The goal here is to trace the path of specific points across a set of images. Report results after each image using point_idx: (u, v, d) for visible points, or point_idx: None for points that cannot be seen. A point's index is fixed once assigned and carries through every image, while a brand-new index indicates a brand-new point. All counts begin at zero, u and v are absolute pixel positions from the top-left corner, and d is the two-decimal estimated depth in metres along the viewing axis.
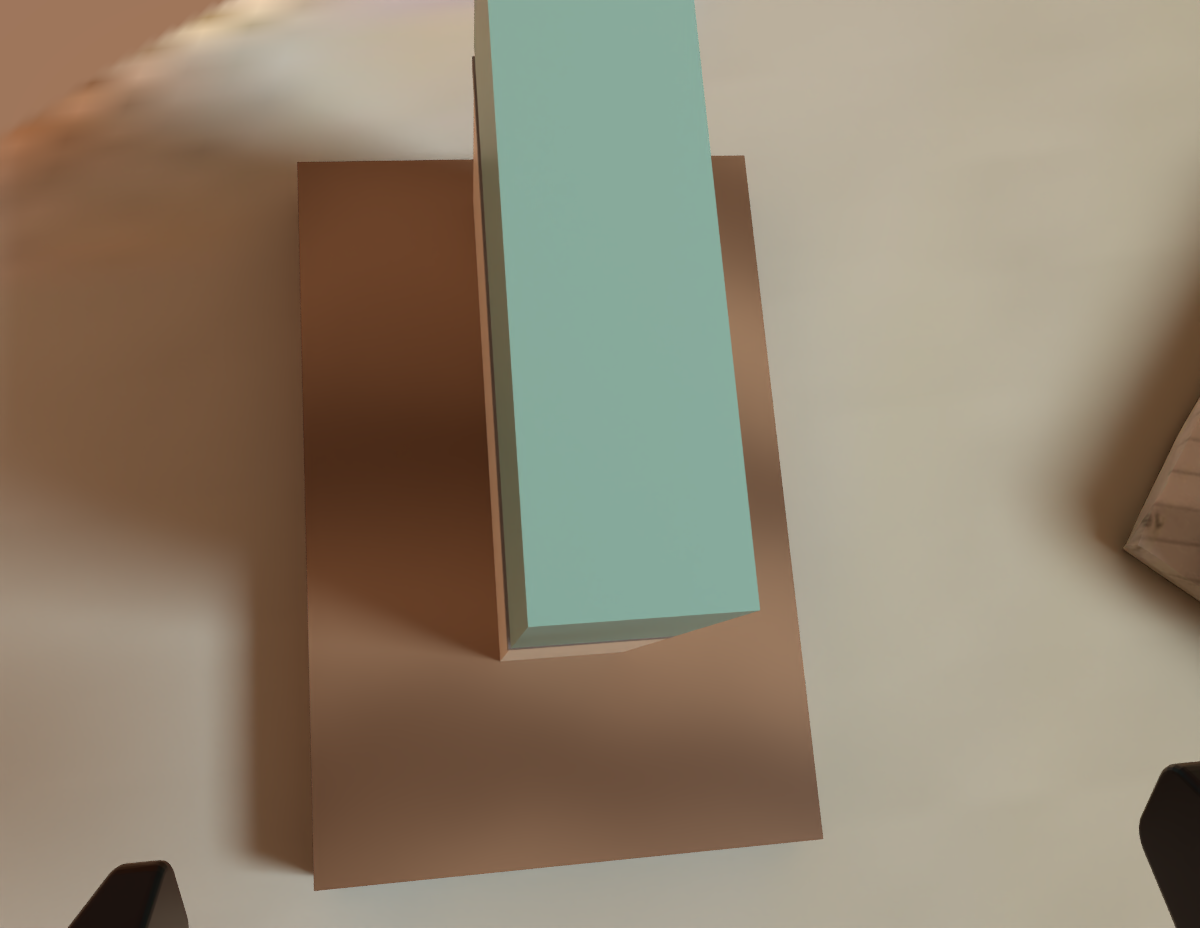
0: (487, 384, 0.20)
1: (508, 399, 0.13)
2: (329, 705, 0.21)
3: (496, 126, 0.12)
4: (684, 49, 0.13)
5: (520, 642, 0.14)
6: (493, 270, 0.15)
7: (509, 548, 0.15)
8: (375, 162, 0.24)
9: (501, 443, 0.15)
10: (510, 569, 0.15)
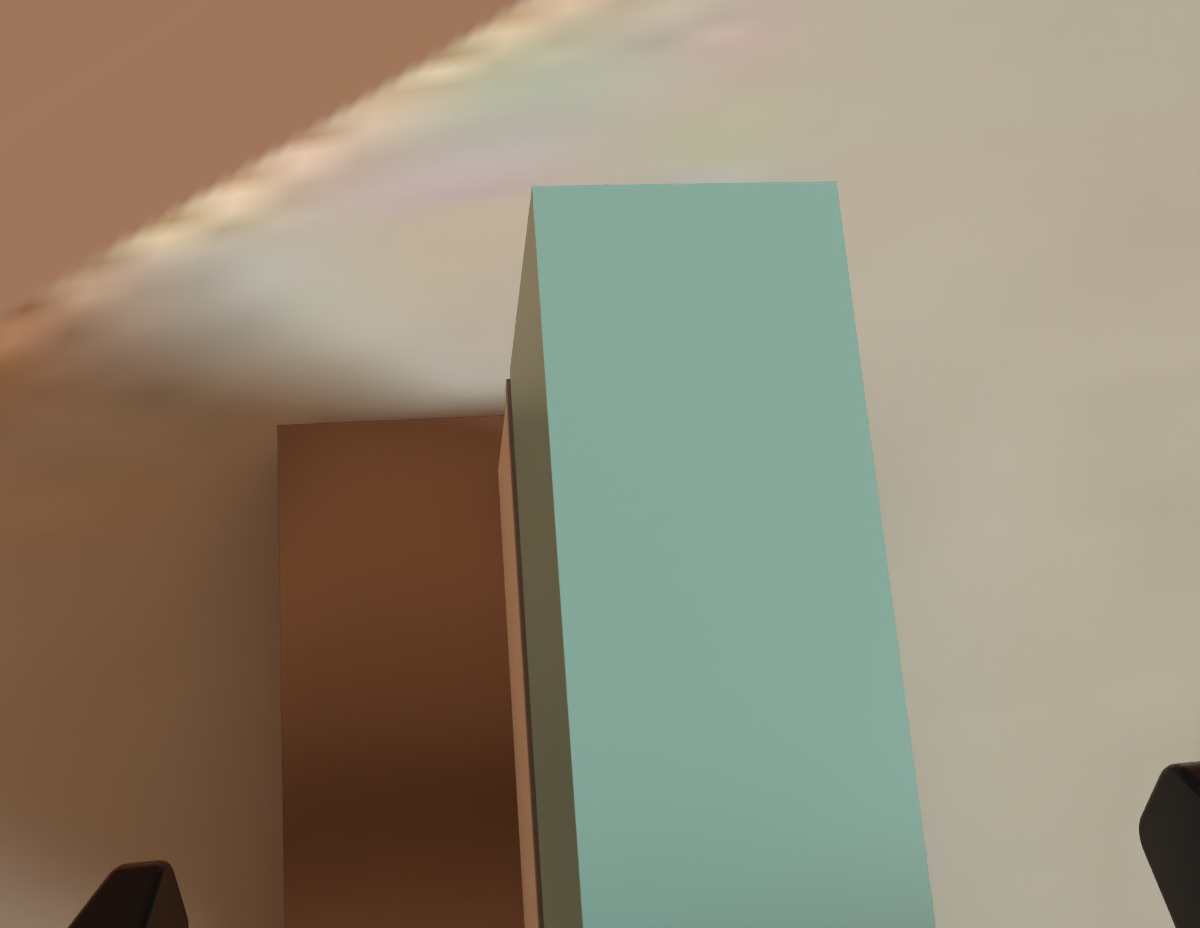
0: (521, 765, 0.16)
1: None
2: None
3: (570, 738, 0.08)
4: (866, 581, 0.08)
5: None
6: (547, 791, 0.10)
7: None
8: (375, 422, 0.19)
9: None
10: None
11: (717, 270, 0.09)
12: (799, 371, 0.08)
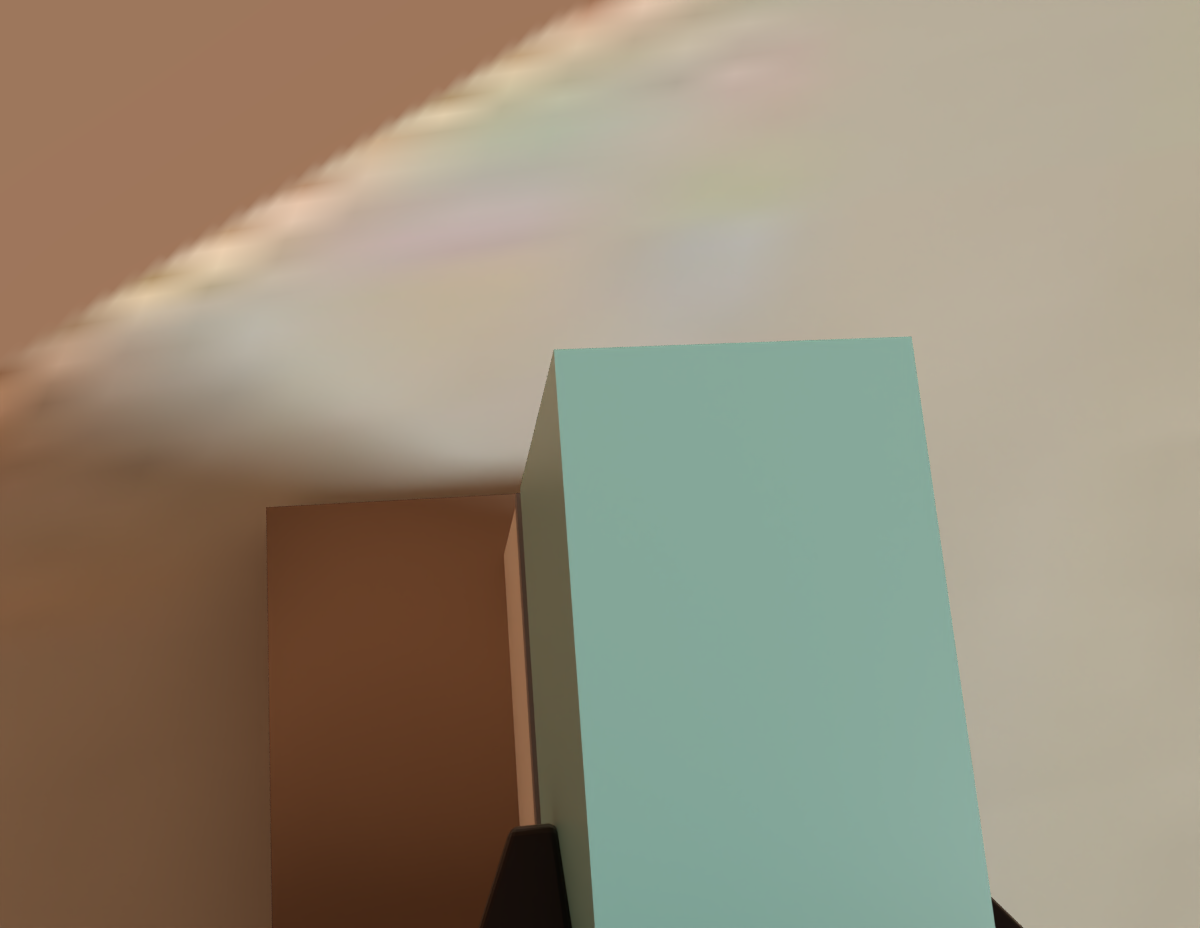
0: None
1: None
2: None
3: None
4: (953, 830, 0.07)
5: None
6: None
7: None
8: (372, 503, 0.17)
9: None
10: None
11: (773, 448, 0.07)
12: (871, 571, 0.07)
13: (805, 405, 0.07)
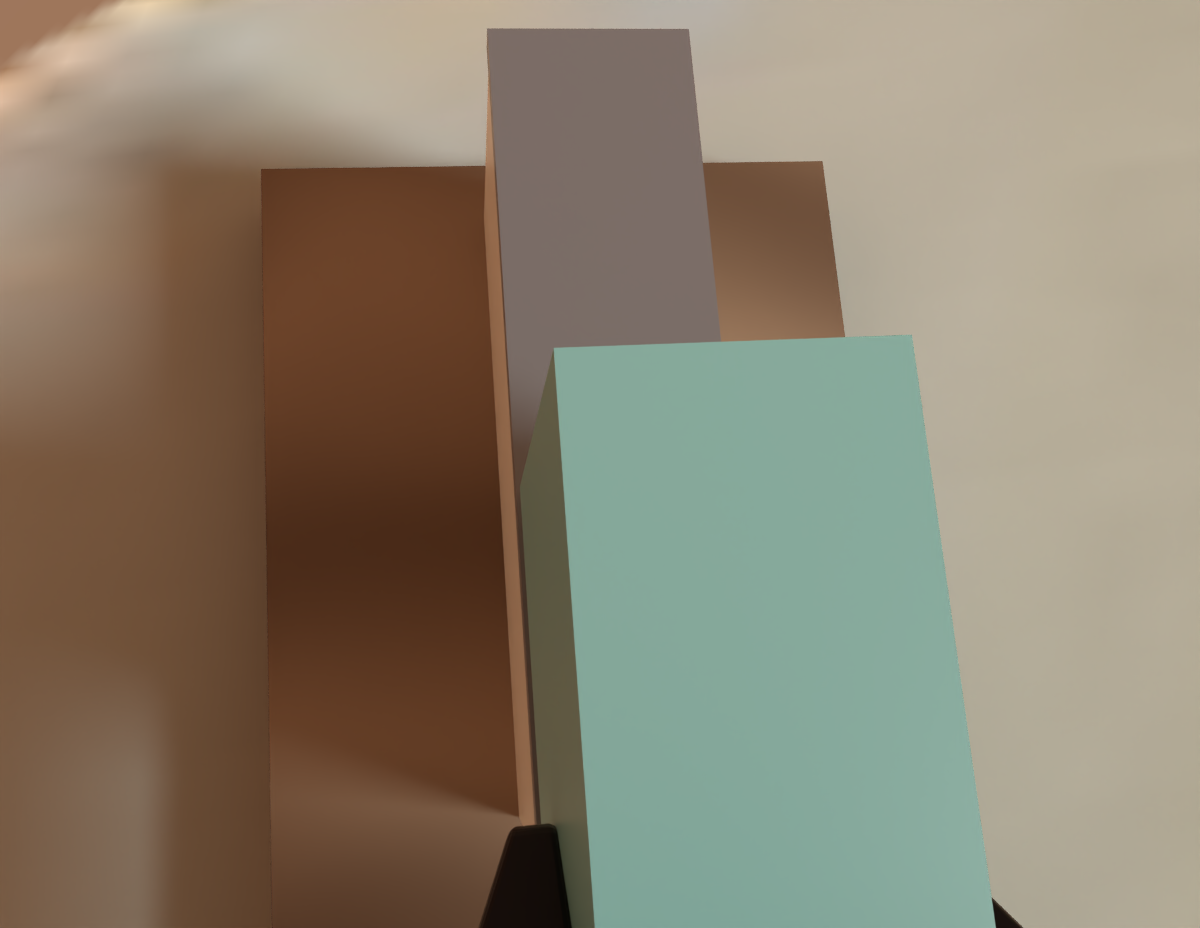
0: (504, 464, 0.15)
1: None
2: (297, 879, 0.16)
3: None
4: (954, 829, 0.07)
5: None
6: None
7: None
8: (360, 169, 0.19)
9: None
10: None
11: (773, 447, 0.07)
12: (871, 569, 0.07)
13: (805, 403, 0.07)
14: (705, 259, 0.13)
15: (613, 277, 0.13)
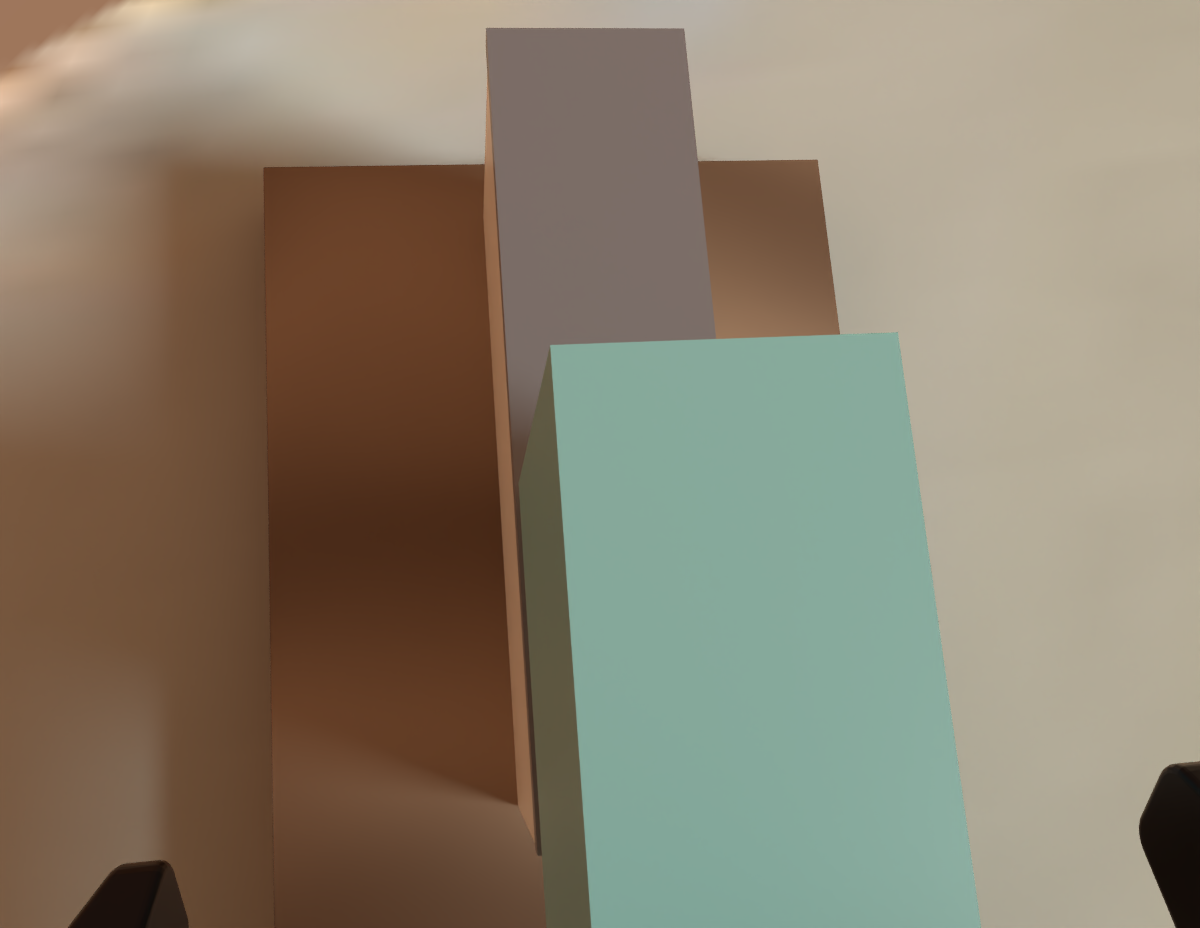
0: (503, 457, 0.16)
1: None
2: (299, 867, 0.16)
3: None
4: (937, 811, 0.07)
5: None
6: None
7: None
8: (361, 167, 0.19)
9: None
10: None
11: (763, 441, 0.07)
12: (858, 560, 0.07)
13: (794, 399, 0.07)
14: (700, 254, 0.13)
15: (610, 271, 0.13)
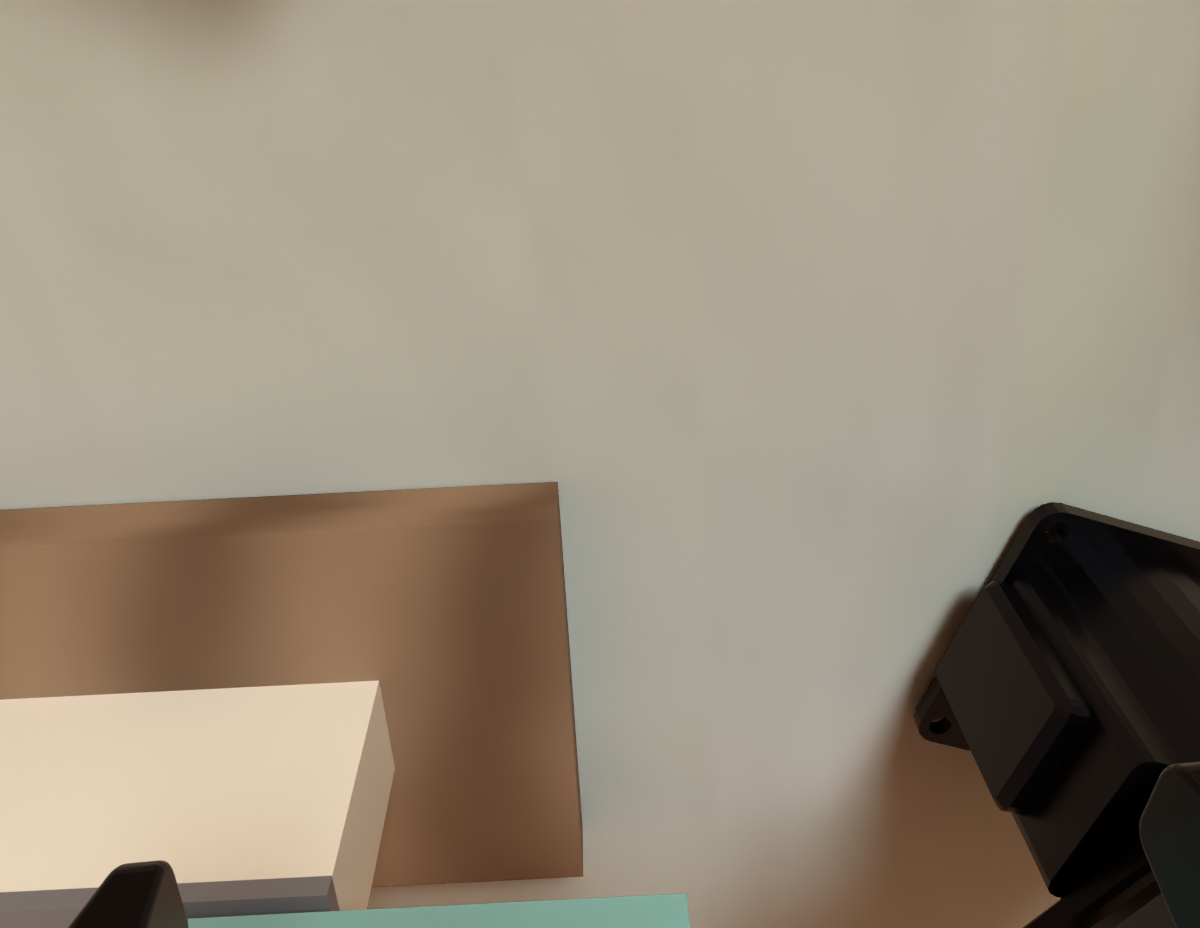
0: None
1: None
2: (439, 872, 0.25)
3: None
4: None
5: None
6: None
7: None
8: None
9: None
10: None
11: None
12: None
13: None
14: None
15: None
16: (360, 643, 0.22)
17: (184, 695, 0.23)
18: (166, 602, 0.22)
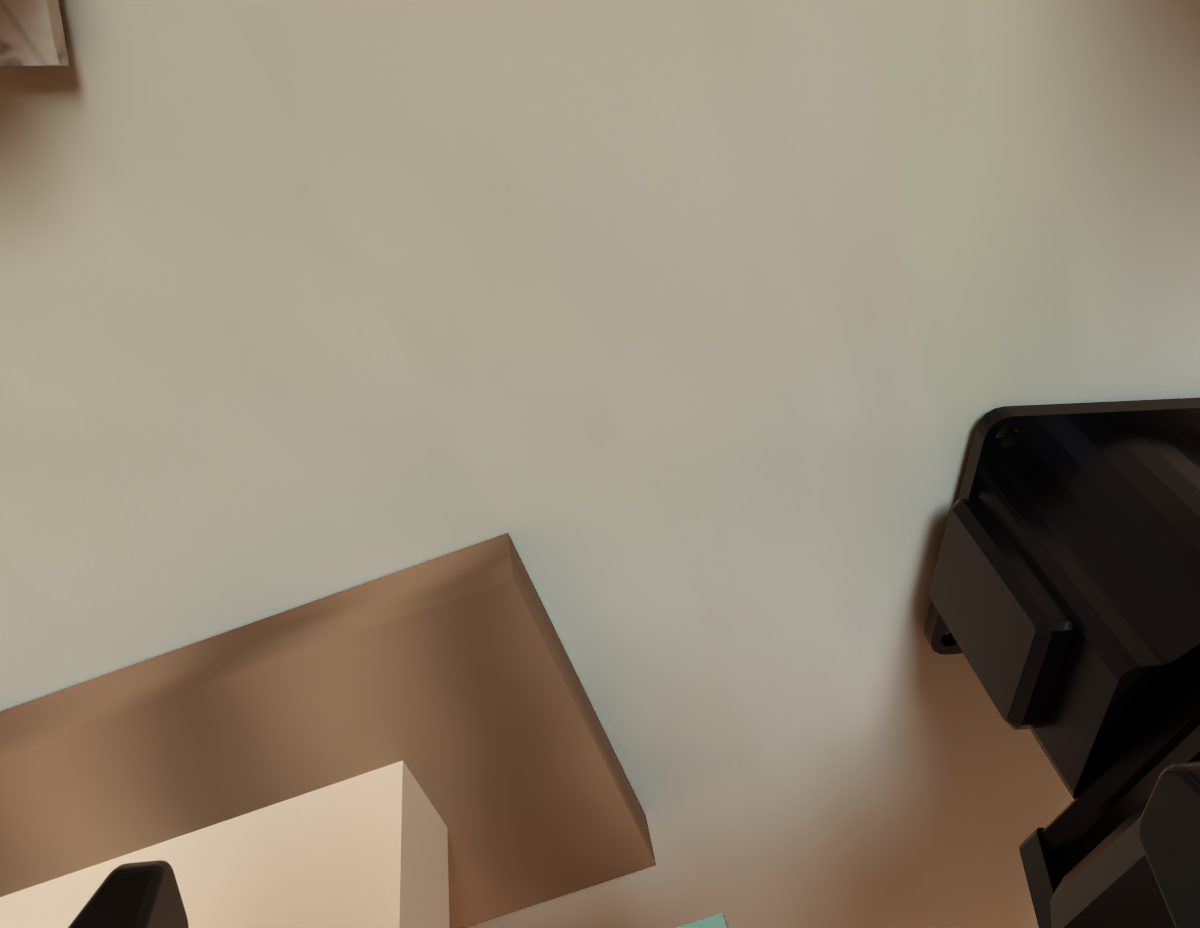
0: None
1: None
2: (522, 898, 0.27)
3: None
4: None
5: None
6: None
7: None
8: None
9: None
10: None
11: None
12: None
13: None
14: None
15: None
16: (373, 735, 0.23)
17: (230, 825, 0.24)
18: (182, 753, 0.22)
